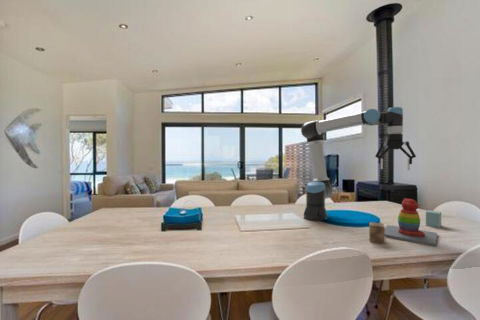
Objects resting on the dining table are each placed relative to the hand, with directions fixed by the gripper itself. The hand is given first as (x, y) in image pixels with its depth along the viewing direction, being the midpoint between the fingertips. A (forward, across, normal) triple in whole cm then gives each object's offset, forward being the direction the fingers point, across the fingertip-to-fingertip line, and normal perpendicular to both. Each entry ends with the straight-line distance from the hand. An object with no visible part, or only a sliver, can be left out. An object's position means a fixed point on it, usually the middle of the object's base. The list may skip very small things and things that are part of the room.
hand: (394, 169), depth 144 cm
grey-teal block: (+33, -18, -12) cm, 39 cm away
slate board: (+33, -9, +19) cm, 39 cm away
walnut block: (+33, +2, +38) cm, 50 cm away
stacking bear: (+32, -9, +19) cm, 38 cm away
